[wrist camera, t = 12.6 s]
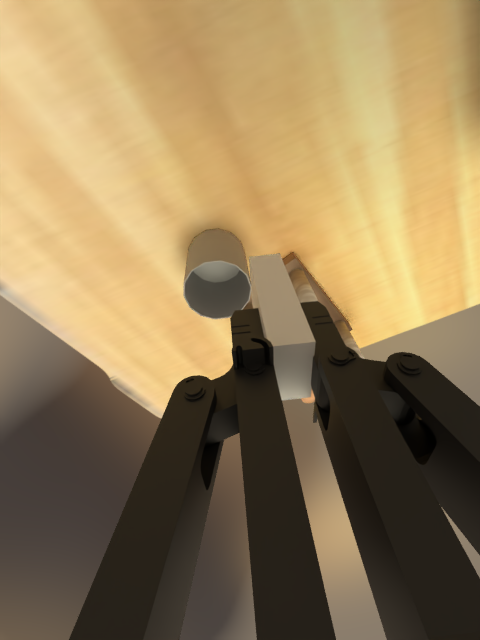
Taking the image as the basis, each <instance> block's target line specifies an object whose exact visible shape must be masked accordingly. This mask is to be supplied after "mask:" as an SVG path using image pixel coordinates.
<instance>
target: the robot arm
mask: <svg viewBox="0 0 480 640" xmlns="http://www.w3.org/2000/svg"><path fill="white" fill-rule="evenodd" d="M249 262H250V277H251V292H252V305H253V309H244V310H235V311H234V313H233V315H232V316H231V318H230V319H231V331H232V343H233V348H232V357H233V366H232V368H231V369H230V370H229V371H228V372H227V373H226V374H225V375H223V376H221V377H219V378H216V379H214V380H210V379H208V378H207V377H204V376H200V375H199V376H190V377H188V378H185V379H183V380H182V381H181V382H179V383H178V384H177V386H176V387H175V389H174V390H173V393H172V395H171V398H170V400H169V402H168V405H167V407H166V410H165V412H164V414H163V417H162V419H161V422H160V424H159V427H158V429H157V431H156V434H155V436H154V438H153V441H152V443H151V446H150V448H149V450H148V452H147V455H146V457H145V460H144V462H143V464H142V467H141V469H140V471H139V474H138V476H137V479H136V481H135V483H134V486H133V488H132V491H131V493H130V495H129V498H128V500H127V502H126V505H125V507H124V510H123V512H122V515H121V517H120V519H119V522H118V524H117V526H116V529H115V532H114V533H113V536H112V538H111V541H110V543H109V545H108V548H107V550H106V553H105V555H104V557H103V560H102V562H101V564H100V567H99V569H98V572H97V574H96V577H95V579H94V581H93V584H92V586H91V588H90V591H89V593H88V595H87V598H86V600H85V603H84V605H83V607H82V610H81V612H80V615H79V617H78V620H77V622H76V625H75V627H74V629H73V631H72V634H71V636H70V639H69V640H179V638H180V634H181V629H182V625H183V620H184V616H185V611H186V606H187V602H188V598H189V594H190V589H191V584H192V580H193V576H194V571H195V567H196V562H197V558H198V553H199V549H200V545H201V540H202V536H203V531H204V527H205V522H206V518H207V513H208V509H209V504H210V500H211V496H212V491H213V486H214V482H215V478H216V473H217V469H218V464H219V460H220V455H221V451H222V446H223V442H224V439H226V438H228V437H231V436H233V435H235V434H237V433H240V443H241V456H242V468H243V480H244V492H245V504H246V516H247V527H248V539H249V550H250V563H251V574H252V587H253V597H254V609H255V622H256V633H257V640H336V637H335V633H334V629H333V624H332V620H331V615H330V611H329V607H328V602H327V598H326V593H325V589H324V584H323V580H322V576H321V571H320V567H319V562H318V558H317V554H316V549H315V545H314V540H313V536H312V532H311V527H310V523H309V518H308V514H307V510H306V505H305V501H304V497H303V492H302V487H301V483H300V479H299V474H298V470H297V466H296V461H295V457H294V452H293V448H292V444H291V439H290V435H289V430H288V426H287V421H286V417H285V413H284V408H283V404H282V400H290V399H298V398H308V397H311V389H312V391H313V394H314V397H315V403H314V413H313V422H314V423H315V422H316V421H317V419H318V421H319V425H320V428H321V431H322V434H323V438H324V441H325V444H326V447H327V450H328V454H329V457H330V460H331V463H332V466H333V469H334V473H335V476H336V479H337V482H338V485H339V489H340V491H341V495H342V498H343V501H344V504H345V508H346V511H347V514H348V517H349V520H350V523H351V527H352V530H353V533H354V536H355V539H356V542H357V546H358V549H359V552H360V555H361V558H362V562H363V564H364V568H365V571H366V574H367V577H368V581H369V584H370V587H371V590H372V593H373V597H374V600H375V603H376V606H377V609H378V612H379V616H380V619H381V622H382V625H383V628H384V632H385V635H386V638H387V640H480V578H479V576H478V575H477V573H476V571H475V569H474V567H473V565H472V563H471V562H470V560H469V558H468V556H467V554H466V552H465V551H464V549H463V547H462V545H461V543H460V541H459V539H458V538H457V536H456V534H455V532H454V530H453V528H452V526H451V525H450V523H449V521H448V519H447V517H446V515H445V514H444V512H443V510H442V508H443V509H444V510H445V511H446V513H447V514H448V516H449V517H450V518H451V519H452V521H453V522H454V523H455V524H456V525H457V527H458V528H459V529H460V531H461V532H462V533H463V534H464V536H465V537H466V538H467V539H468V541H469V542H470V543H471V545H472V546H473V547H474V548H475V550H476V551H477V552H478V554H479V555H480V406H478V405H477V404H476V403H475V402H474V401H472V400H471V399H470V398H469V397H468V396H467V395H466V394H465V393H463V392H462V391H461V390H460V389H459V388H458V387H456V386H455V385H454V384H453V383H452V382H451V381H449V380H448V379H447V378H446V377H445V376H444V375H442V374H441V373H440V372H439V371H438V370H437V369H435V368H434V367H433V366H432V365H431V364H430V363H428V362H427V361H426V360H424V359H423V358H421V357H420V356H417V355H415V354H412V353H405V352H399V353H394V354H392V355H390V356H389V357H388V359H387V361H386V362H381V361H374V360H368V359H363V358H361V357H360V356H359V355H358V354H357V353H356V351H354V350H353V349H351V348H349V347H347V346H346V345H345V343H344V341H343V339H342V337H341V335H340V333H339V331H338V329H337V328H336V326H335V324H334V323H333V320H332V318H331V317H330V314H329V312H328V310H327V308H326V307H325V306H324V305H322V304H321V303H320V302H318V301H311V302H302V303H300V302H299V300H298V297H297V295H296V292H295V290H294V287H293V285H292V282H291V280H290V277H289V275H288V272H287V270H286V268H285V265H284V263H283V260H282V258H281V255H280V254H270V255H261V256H251V257H249ZM440 505H441V506H440ZM441 507H442V508H441Z"/></svg>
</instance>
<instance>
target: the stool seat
mask: <svg viewBox="0 0 480 640" xmlns="http://www.w3.org/2000/svg"><path fill="white" fill-rule="evenodd" d="M283 263H284V265H285V268H286V270H287V272H288V275H289V277H290V280H291V282H292V285H293V287H294V290H295V292H296V295H297V297H298V300H299V302H300V303H302V302H311V301H318V302H320V303H321V304H322V305H324V306H325V307H326V308H327V310H328V312H329V314H330V317H331V318H332V320H333V323H334V324H335V326H336V328H337V329H338V331H339V333H340V335H341V337H342V339H343V341H344V343H345V345H346V346H347V347H349V348H351V349H353V350H354V351H356V353H357V354H358V355H359V356H360V357H361V358H363V359H365V358H364V356H363V355H362V353H361V351H360V349H359V347H358V346H357V344H356V342H355V340H354V339H353V337H352V335H351V333H350V331H351V330H353V329H352V328H351V326H350V324H349V323H348V321H347V320H346V319H345V318H344V316H343V315H342V314H341V312H340V311H339V310H338V309H337V307H336V306H335V305H334V304H333V302H332V301H331V300H330V299H329V297H328V296H327V295H326V293H325V292H324V291H323V290H322V288H321V287H320V286H319V285H318V283H317V282H316V281H315V280H314V278H313V277H312V276H311V275H310V273H309V272H308V271H307V269H306V268H305V267H304V266H303V264H302V263H301V262H300V261H299V259H298V258H297V257H296V256H295V254H294V253H293V252H292V253H291V254H289V255H288V256H287V257H285V258H284V259H283ZM244 309H253V305H252V292H251V295H250V300H249V302H248V303H247V304H246V306H245V307H244V308H243V310H244Z"/></svg>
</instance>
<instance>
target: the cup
mask: <svg viewBox="0 0 480 640" xmlns="http://www.w3.org/2000/svg"><path fill="white" fill-rule="evenodd" d="M250 295H251V281H250V276H249V271H248V266H247V261H246V257H245V252H244V249H243V246H242V244H241V241H240V240H239V239H238V238H237V237H235V236H234V235H233V234H232V233H231V232H228V231H224V230H221V229H213V230H205V231H204V232H202V233H201V234H199V235H198V236H196V237H195V238H194V240H193V241H192V243H191V245H190V246H189V249H188V256H187V263H186V271H185V278H184V298H185V300H186V302H187V303H188V305H189V307H190V308H191V309H192V310H194V311H195V312H196V313H198V314H199V315H200V316H203V317H207V318H212V319H222V318H229V317H231V316H232V315H233V313H234V311H235V310H243V308H244V307H245V306H246V304H247V303H248V302H249V300H250Z"/></svg>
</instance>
